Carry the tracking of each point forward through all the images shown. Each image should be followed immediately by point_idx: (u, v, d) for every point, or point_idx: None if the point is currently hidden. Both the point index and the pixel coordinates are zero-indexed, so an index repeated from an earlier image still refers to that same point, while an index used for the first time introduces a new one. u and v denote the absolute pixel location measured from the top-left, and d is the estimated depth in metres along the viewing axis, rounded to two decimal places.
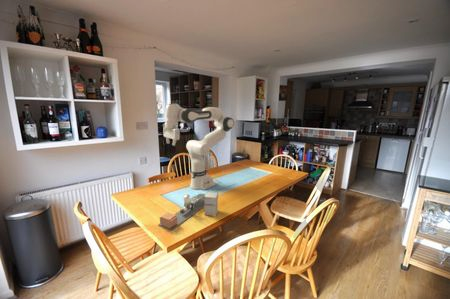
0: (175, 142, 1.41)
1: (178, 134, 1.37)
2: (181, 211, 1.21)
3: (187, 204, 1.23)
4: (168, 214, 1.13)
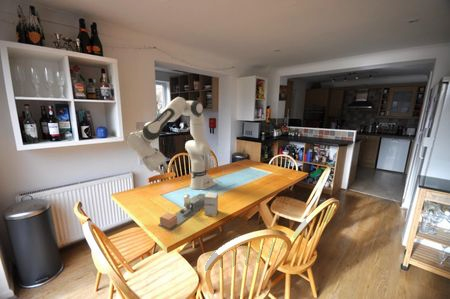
0: (160, 170, 1.14)
1: (149, 164, 1.09)
2: (181, 211, 1.21)
3: (187, 204, 1.23)
4: (168, 214, 1.13)
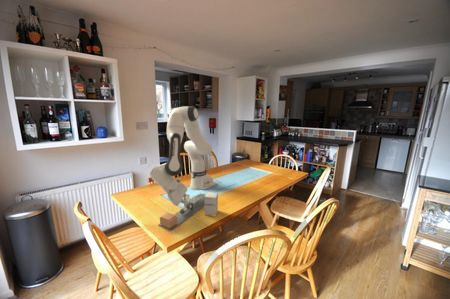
0: (184, 201, 1.20)
1: (174, 199, 1.13)
2: (181, 211, 1.21)
3: (187, 204, 1.23)
4: (168, 214, 1.13)
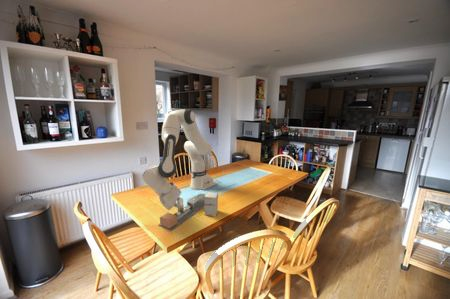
0: (177, 205, 1.15)
1: (166, 203, 1.08)
2: None
3: (180, 208, 1.18)
4: (168, 214, 1.13)
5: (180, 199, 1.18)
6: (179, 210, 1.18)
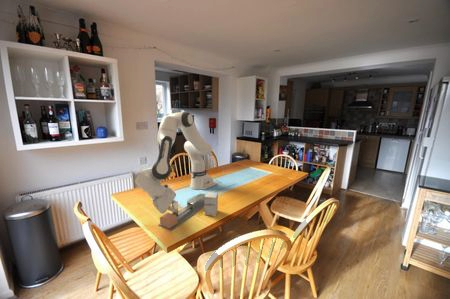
0: (172, 208, 1.11)
1: (160, 206, 1.04)
2: None
3: (175, 211, 1.14)
4: (168, 214, 1.13)
5: (175, 202, 1.14)
6: (174, 213, 1.14)
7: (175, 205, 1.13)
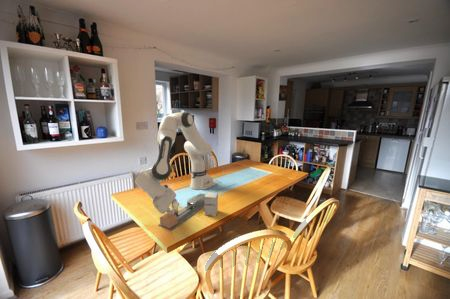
0: (171, 211, 1.09)
1: (160, 207, 1.04)
2: None
3: (175, 212, 1.14)
4: (168, 214, 1.13)
5: (175, 202, 1.14)
6: None
7: (175, 205, 1.13)
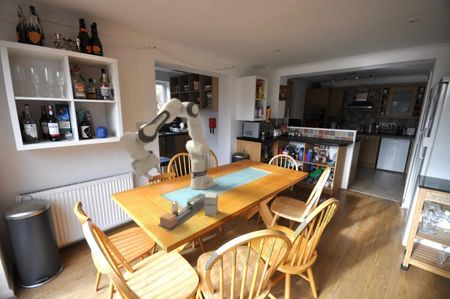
0: (149, 175, 1.11)
1: (137, 169, 1.07)
2: None
3: (175, 212, 1.14)
4: (168, 214, 1.13)
5: (175, 202, 1.14)
6: None
7: (175, 205, 1.13)
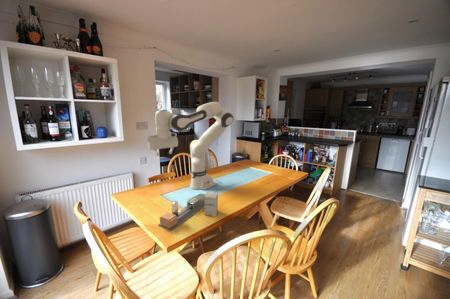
0: (155, 152, 1.30)
1: (149, 144, 1.26)
2: None
3: (175, 212, 1.14)
4: (168, 214, 1.13)
5: (175, 202, 1.14)
6: None
7: (175, 205, 1.13)
